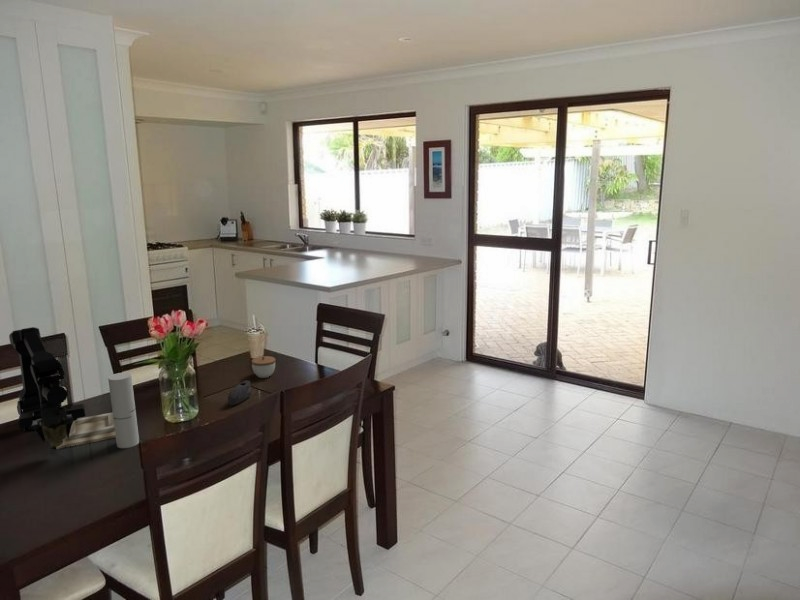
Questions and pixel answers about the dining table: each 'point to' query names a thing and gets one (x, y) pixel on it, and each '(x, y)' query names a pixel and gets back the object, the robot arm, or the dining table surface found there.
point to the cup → (55, 432)
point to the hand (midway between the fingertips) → (56, 439)
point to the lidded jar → (263, 366)
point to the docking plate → (91, 438)
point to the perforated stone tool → (239, 393)
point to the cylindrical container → (123, 410)
